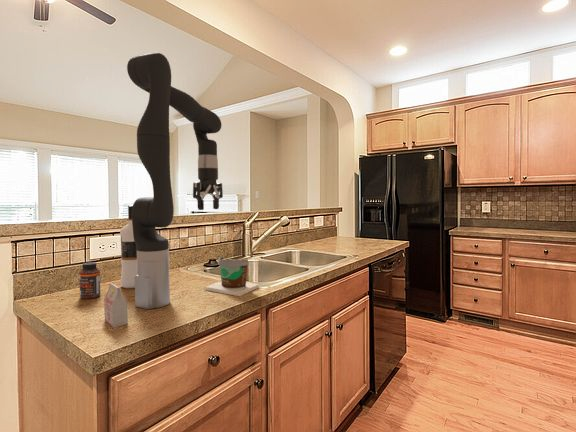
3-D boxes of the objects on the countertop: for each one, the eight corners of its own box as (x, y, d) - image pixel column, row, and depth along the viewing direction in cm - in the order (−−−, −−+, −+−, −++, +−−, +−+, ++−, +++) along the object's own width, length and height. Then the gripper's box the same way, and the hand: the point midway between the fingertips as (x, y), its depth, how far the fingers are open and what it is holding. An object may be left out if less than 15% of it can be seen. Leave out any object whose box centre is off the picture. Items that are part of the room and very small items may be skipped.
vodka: (147, 287, 124) (144, 205, 122) (119, 290, 121) (116, 206, 119) (148, 281, 133) (145, 204, 131) (122, 283, 130) (119, 205, 127)
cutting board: (239, 296, 114) (239, 292, 113) (205, 290, 121) (205, 286, 121) (259, 287, 124) (259, 284, 124) (226, 282, 131) (226, 279, 131)
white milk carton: (119, 317, 95) (118, 281, 94) (127, 323, 90) (126, 286, 89) (104, 320, 92) (103, 284, 92) (112, 327, 87) (111, 289, 87)
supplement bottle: (77, 300, 110) (75, 265, 109) (83, 294, 115) (81, 261, 114) (97, 298, 111) (96, 264, 110) (102, 293, 117) (101, 260, 116)
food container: (210, 286, 121) (210, 258, 121) (221, 282, 127) (221, 255, 126) (238, 291, 115) (238, 262, 115) (249, 286, 121) (248, 258, 120)
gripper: (202, 165, 123) (203, 210, 124) (227, 168, 135) (227, 208, 136) (187, 166, 126) (188, 210, 127) (212, 168, 139) (213, 208, 140)
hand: (208, 209), depth 132 cm, fingers open, 8 cm apart
